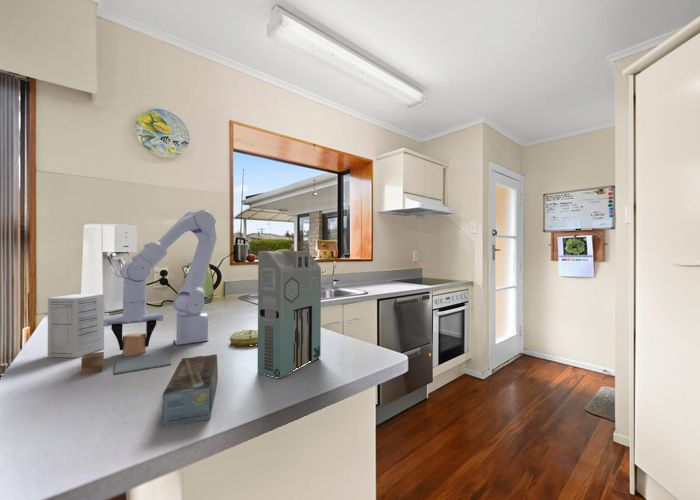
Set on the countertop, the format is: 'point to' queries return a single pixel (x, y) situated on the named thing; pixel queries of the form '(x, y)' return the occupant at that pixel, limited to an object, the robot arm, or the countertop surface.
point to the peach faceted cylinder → (134, 344)
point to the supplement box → (75, 325)
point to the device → (288, 311)
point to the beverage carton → (190, 391)
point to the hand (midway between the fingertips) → (134, 347)
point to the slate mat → (141, 362)
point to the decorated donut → (244, 338)
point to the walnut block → (92, 363)
